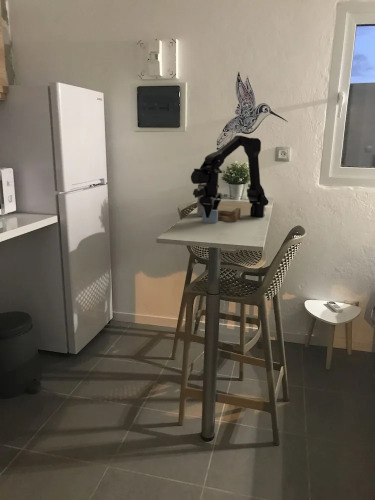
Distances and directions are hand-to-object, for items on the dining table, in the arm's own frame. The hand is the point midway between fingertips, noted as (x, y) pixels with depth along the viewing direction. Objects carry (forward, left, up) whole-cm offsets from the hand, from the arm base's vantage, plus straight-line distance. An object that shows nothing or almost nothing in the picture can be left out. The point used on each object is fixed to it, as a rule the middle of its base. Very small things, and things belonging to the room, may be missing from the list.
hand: (210, 216), depth 189 cm
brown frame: (-4, -11, -3) cm, 12 cm away
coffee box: (+8, -16, -3) cm, 18 cm away
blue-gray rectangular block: (0, 0, -3) cm, 3 cm away
